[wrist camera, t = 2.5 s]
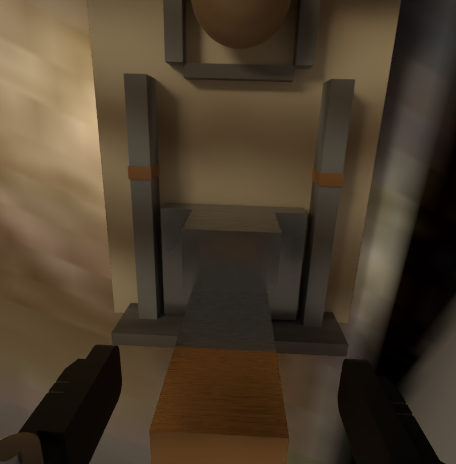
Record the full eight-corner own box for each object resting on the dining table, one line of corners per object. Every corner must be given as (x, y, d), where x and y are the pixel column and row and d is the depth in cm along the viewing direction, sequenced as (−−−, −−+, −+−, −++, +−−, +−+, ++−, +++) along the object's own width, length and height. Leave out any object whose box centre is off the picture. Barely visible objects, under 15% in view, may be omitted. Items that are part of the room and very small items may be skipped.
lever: (165, 202, 17) (47, 325, 7) (302, 207, 17) (400, 342, 7) (168, 302, 19) (79, 521, 9) (292, 308, 19) (356, 540, 8)
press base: (93, -134, 15) (-25, -337, 8) (404, -132, 15) (539, -343, 8) (125, 295, 22) (75, 370, 15) (338, 305, 22) (381, 387, 15)
